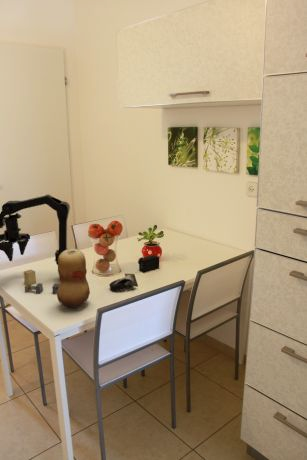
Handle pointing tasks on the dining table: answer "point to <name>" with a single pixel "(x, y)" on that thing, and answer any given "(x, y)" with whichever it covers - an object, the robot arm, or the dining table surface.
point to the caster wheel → (124, 283)
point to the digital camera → (148, 263)
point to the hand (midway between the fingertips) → (16, 257)
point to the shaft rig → (40, 288)
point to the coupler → (30, 277)
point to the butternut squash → (72, 278)
